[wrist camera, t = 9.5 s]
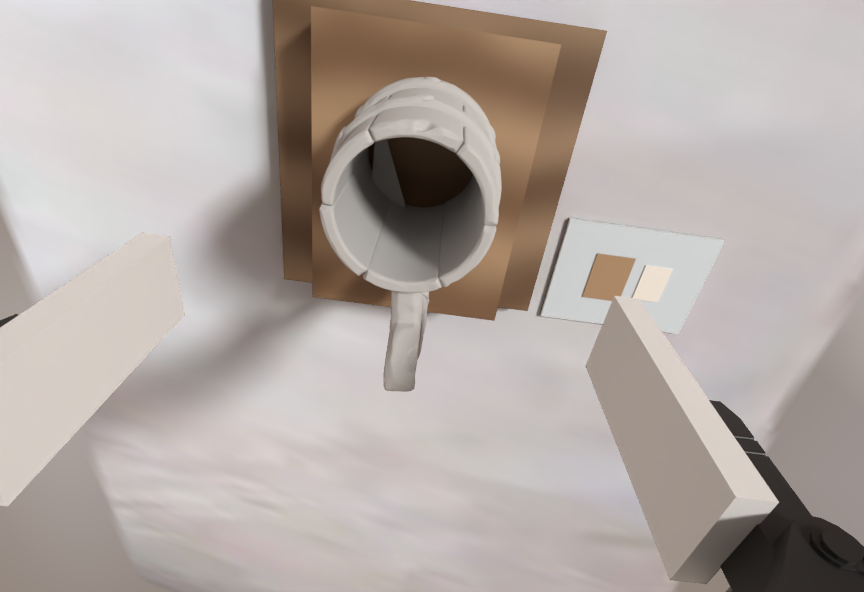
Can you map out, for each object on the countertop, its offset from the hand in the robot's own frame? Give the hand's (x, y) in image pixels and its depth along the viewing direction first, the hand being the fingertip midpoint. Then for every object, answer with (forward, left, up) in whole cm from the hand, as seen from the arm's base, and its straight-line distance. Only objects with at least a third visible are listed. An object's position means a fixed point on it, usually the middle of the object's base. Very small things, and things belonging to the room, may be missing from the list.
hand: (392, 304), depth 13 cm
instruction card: (+6, +16, -18) cm, 25 cm away
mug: (0, 0, -13) cm, 13 cm away
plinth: (0, 0, -18) cm, 18 cm away
